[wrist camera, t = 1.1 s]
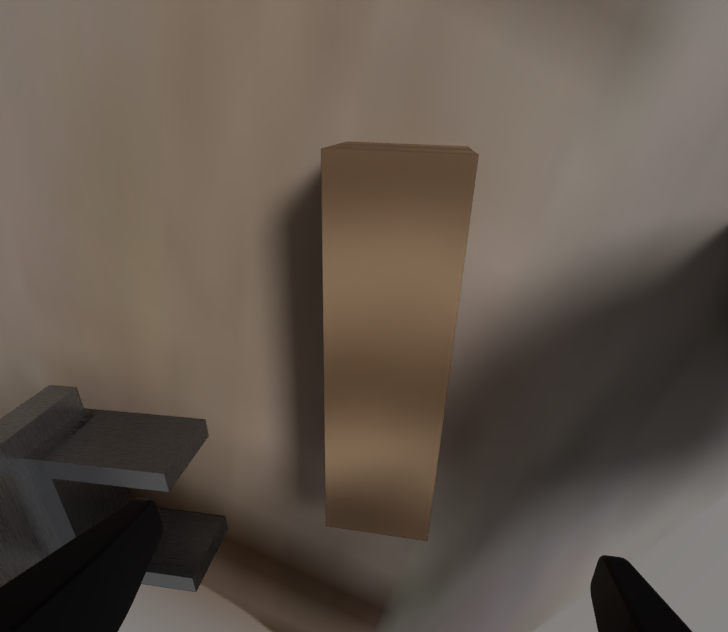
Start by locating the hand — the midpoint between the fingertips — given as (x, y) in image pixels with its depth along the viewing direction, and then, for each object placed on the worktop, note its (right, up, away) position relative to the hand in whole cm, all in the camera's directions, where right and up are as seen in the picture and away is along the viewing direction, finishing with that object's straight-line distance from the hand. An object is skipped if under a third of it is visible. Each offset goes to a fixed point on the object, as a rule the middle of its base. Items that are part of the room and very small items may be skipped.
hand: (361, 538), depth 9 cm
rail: (+1, +4, +9) cm, 10 cm away
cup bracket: (-11, -4, +14) cm, 18 cm away
